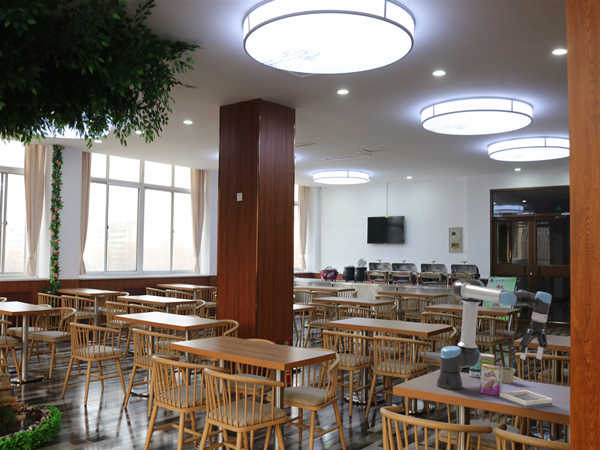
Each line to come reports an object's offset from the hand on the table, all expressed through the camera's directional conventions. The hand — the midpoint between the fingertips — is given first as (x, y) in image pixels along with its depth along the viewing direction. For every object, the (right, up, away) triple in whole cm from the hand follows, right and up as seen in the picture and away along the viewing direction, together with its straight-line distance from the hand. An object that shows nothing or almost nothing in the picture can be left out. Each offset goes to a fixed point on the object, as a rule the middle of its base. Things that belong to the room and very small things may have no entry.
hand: (530, 358), depth 289 cm
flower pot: (+7, -28, +51) cm, 58 cm away
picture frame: (0, -26, +7) cm, 26 cm away
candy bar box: (-15, -26, +20) cm, 35 cm away
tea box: (-5, -28, +64) cm, 70 cm away
